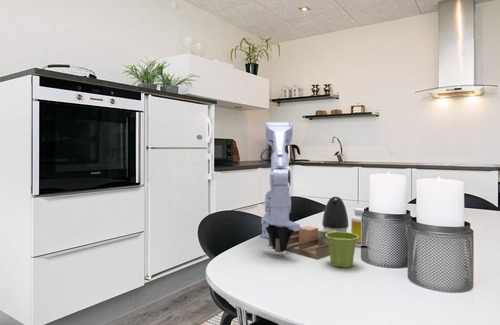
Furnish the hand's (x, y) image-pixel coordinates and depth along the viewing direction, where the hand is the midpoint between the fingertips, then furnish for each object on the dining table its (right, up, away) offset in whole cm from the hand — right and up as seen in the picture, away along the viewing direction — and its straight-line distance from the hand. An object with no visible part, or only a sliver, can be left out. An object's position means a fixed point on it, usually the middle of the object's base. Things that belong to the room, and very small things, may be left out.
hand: (279, 249), depth 110 cm
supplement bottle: (+30, -2, +13) cm, 33 cm away
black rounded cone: (+25, -1, +29) cm, 38 cm away
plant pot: (+17, -3, -8) cm, 19 cm away
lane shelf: (+10, -2, +10) cm, 14 cm away
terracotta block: (+6, 0, +6) cm, 8 cm away
